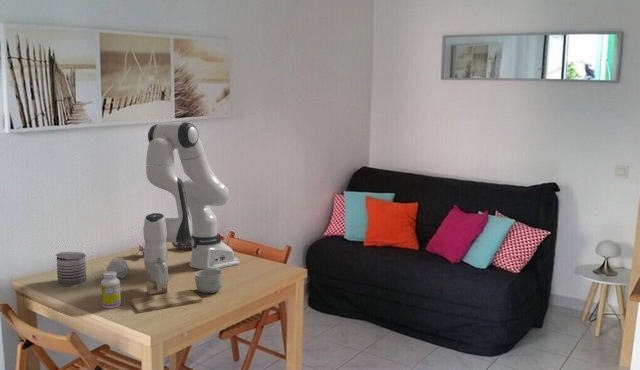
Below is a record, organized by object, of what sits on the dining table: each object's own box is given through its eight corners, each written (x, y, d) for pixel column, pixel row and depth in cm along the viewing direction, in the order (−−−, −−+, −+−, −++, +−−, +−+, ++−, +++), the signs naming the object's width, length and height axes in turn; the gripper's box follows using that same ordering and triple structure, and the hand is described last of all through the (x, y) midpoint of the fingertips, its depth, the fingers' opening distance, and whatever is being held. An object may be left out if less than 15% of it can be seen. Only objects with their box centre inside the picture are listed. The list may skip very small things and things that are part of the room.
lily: (143, 263, 293) (152, 246, 294) (123, 253, 295) (131, 235, 296) (150, 263, 304) (159, 247, 305) (131, 253, 306) (139, 237, 306)
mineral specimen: (166, 242, 310) (179, 224, 311) (175, 244, 320) (187, 227, 320) (186, 258, 307) (199, 239, 307) (194, 259, 316) (207, 241, 317)
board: (191, 292, 252) (191, 289, 252) (201, 301, 242) (201, 298, 242) (130, 302, 240) (130, 299, 240) (138, 312, 230) (138, 309, 230)
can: (65, 277, 269) (63, 249, 267) (91, 277, 268) (90, 250, 266) (52, 285, 258) (50, 257, 256) (79, 286, 257) (78, 258, 255)
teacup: (209, 297, 247) (209, 277, 245) (189, 292, 252) (188, 273, 251) (232, 287, 258) (232, 268, 257) (212, 283, 264) (212, 264, 262)
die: (116, 283, 264) (130, 263, 265) (99, 272, 264) (113, 252, 266) (122, 284, 272) (135, 265, 273) (106, 273, 273) (119, 254, 274)
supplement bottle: (104, 302, 240) (103, 270, 237) (122, 302, 240) (121, 269, 238) (100, 309, 233) (98, 275, 231) (118, 308, 234) (117, 275, 231)
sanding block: (164, 289, 255) (164, 279, 254) (167, 292, 251) (167, 282, 250) (147, 292, 251) (146, 281, 250) (149, 295, 248) (149, 284, 247)
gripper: (171, 260, 241) (172, 295, 244) (156, 248, 259) (157, 280, 261) (155, 263, 238) (156, 298, 240) (141, 250, 255) (142, 282, 258)
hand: (157, 288), depth 251 cm, fingers closed on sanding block, 4 cm apart
